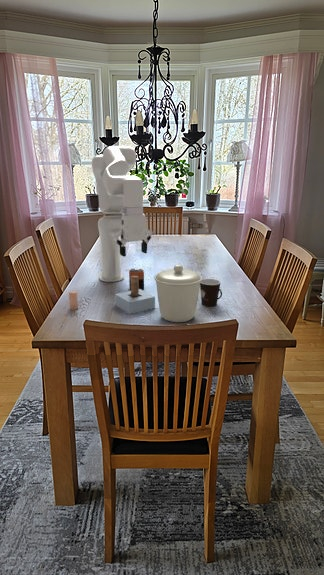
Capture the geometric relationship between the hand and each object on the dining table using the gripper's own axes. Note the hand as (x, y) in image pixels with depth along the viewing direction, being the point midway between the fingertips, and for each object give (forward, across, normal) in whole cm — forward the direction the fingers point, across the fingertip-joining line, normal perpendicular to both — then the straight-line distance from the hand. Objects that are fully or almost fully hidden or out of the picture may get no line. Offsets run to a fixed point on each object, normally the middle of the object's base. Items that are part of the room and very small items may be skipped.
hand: (133, 254), depth 159 cm
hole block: (+22, 0, -1) cm, 22 cm away
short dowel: (+22, -22, +11) cm, 34 cm away
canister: (+22, +8, -20) cm, 31 cm away
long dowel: (+22, 0, -1) cm, 22 cm away
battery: (+23, +12, +18) cm, 31 cm away
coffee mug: (+22, +27, -17) cm, 39 cm away
